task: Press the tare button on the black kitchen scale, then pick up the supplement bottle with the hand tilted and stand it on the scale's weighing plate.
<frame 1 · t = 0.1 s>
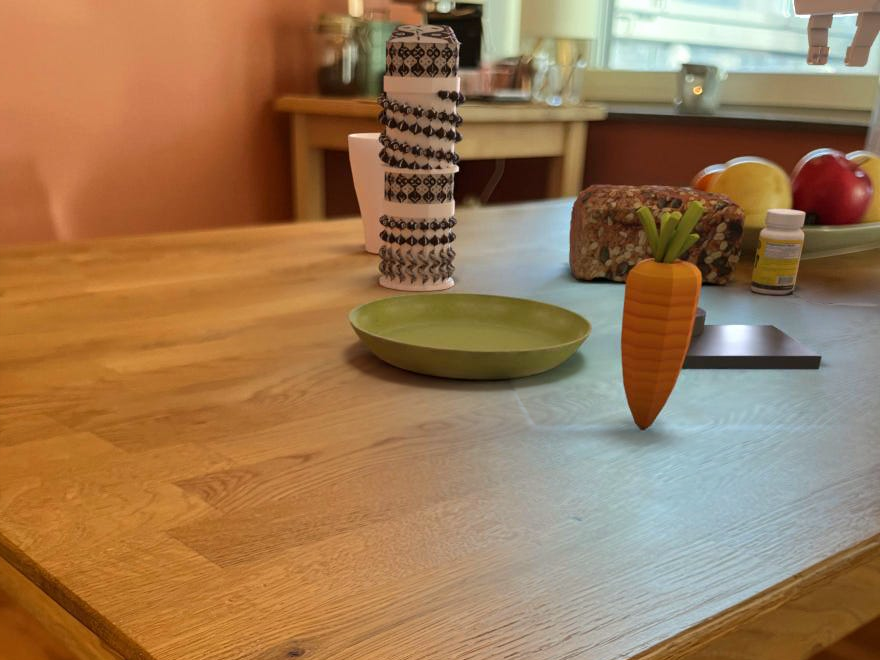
hand: (834, 66, 108), 22 cm above the table, tool pointing down, fingers open, 8 cm apart
saucer: (467, 357, 88), on the table
bread: (647, 278, 121), on the table
cup: (388, 252, 133), on the table
tare button: (672, 303, 92), point 3 cm above the table, slide at 0.1 cm
decorative candle: (416, 285, 115), on the table
scale: (722, 353, 91), on the table
carrot: (642, 432, 72), on the table
supplement bottle: (770, 293, 115), on the table
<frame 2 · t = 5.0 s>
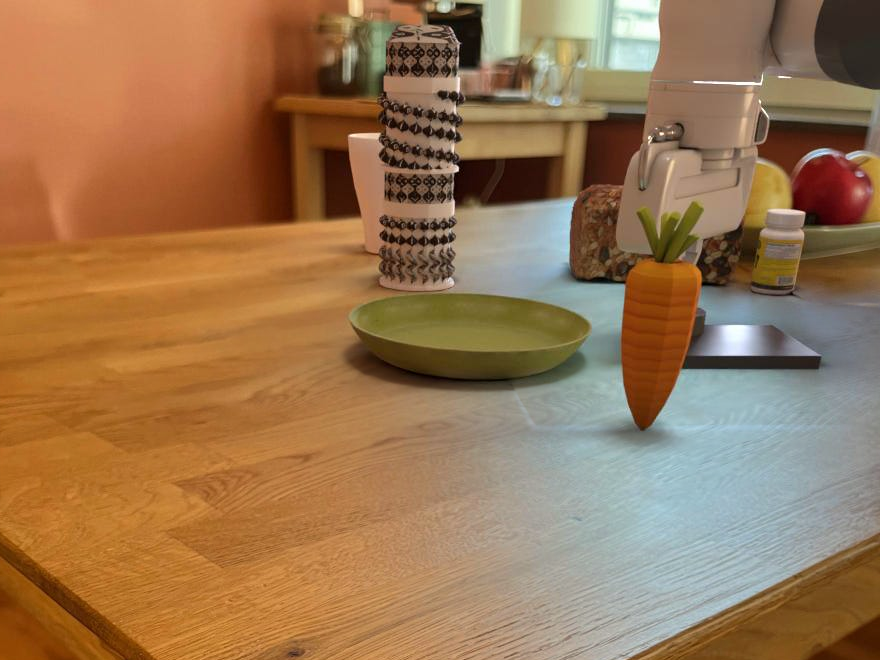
hand: (672, 294, 91), 4 cm above the table, tool pointing down, fingers closed, pressing on tare button
tare button: (672, 305, 92), point 3 cm above the table, slide at 0.0 cm, touching gripper
everything else where it was.
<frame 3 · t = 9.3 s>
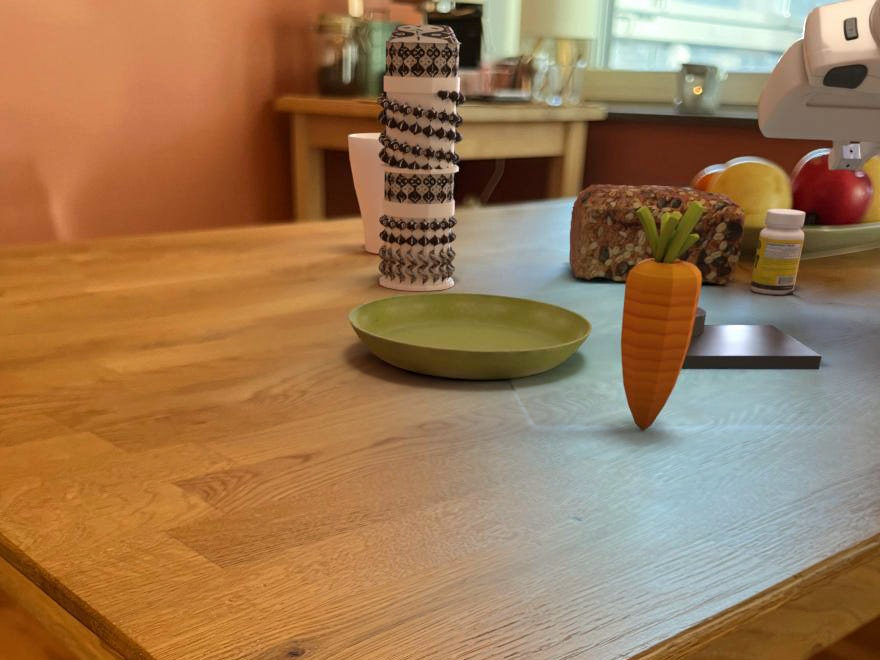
hand: (843, 164, 97), 14 cm above the table, tool tilted 45°, fingers closed
tare button: (672, 303, 92), point 3 cm above the table, slide at 0.1 cm
everything else where it was.
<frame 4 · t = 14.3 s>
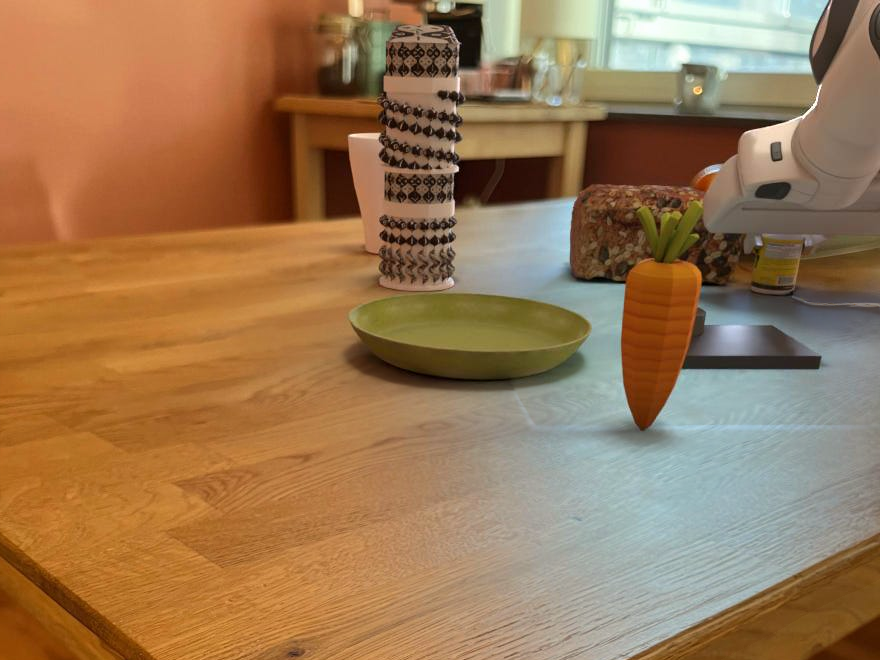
hand: (777, 249, 113), 4 cm above the table, tool tilted 45°, fingers closed on supplement bottle, 5 cm apart
supplement bottle: (770, 293, 115), on the table, touching gripper
everything else where it was.
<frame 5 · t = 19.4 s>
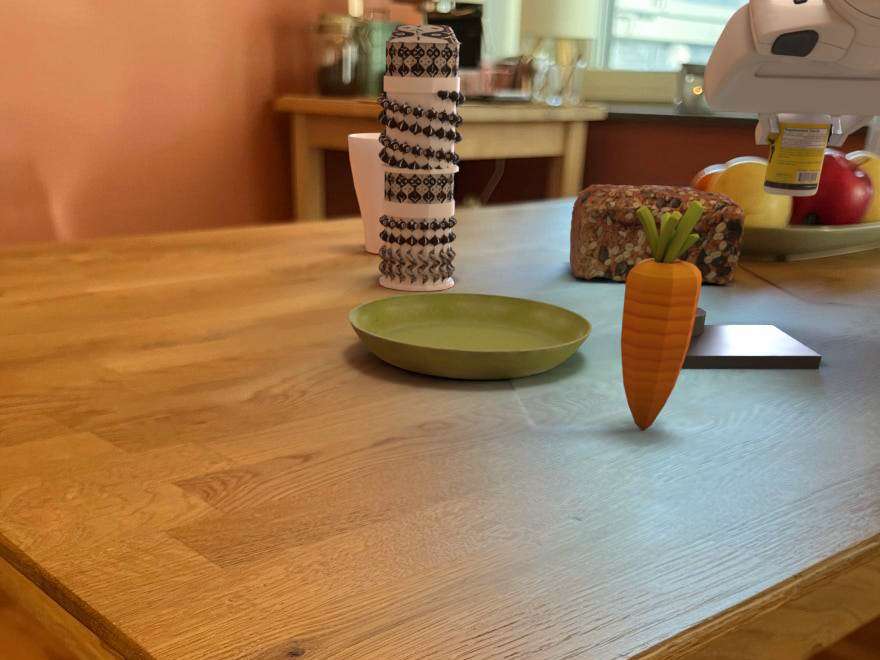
hand: (796, 139, 91), 17 cm above the table, tool tilted 45°, fingers closed on supplement bottle, 5 cm apart
supplement bottle: (788, 196, 93), point 12 cm above the table, touching gripper
everything else where it was.
when the fingers open (5 cm above the table, at t = 24.6 s): supplement bottle stays where it is, resting on scale.
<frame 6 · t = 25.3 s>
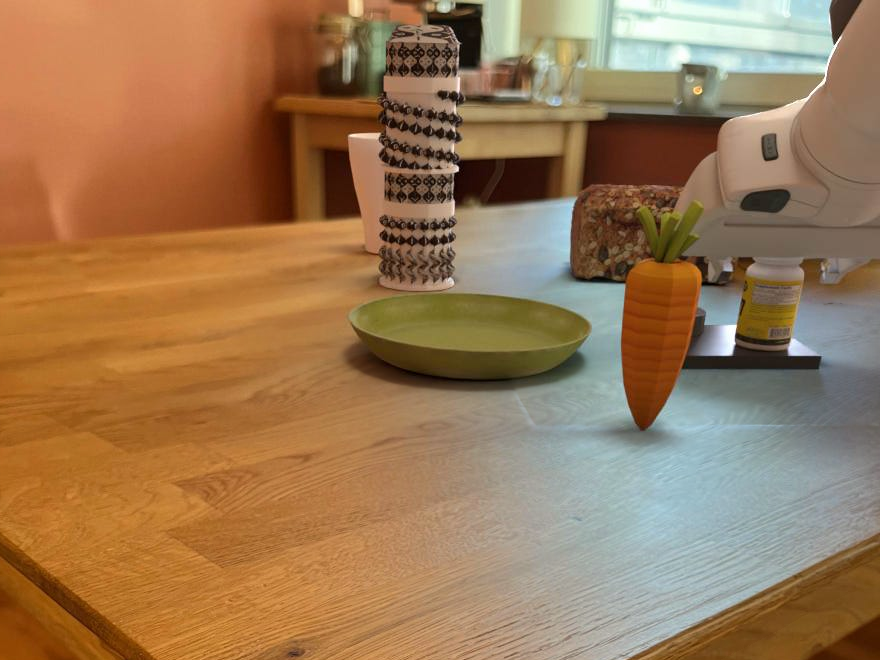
hand: (772, 275, 86), 7 cm above the table, tool tilted 45°, fingers open, 8 cm apart
supplement bottle: (760, 347, 88), point 1 cm above the table, touching scale
everything else where it was.
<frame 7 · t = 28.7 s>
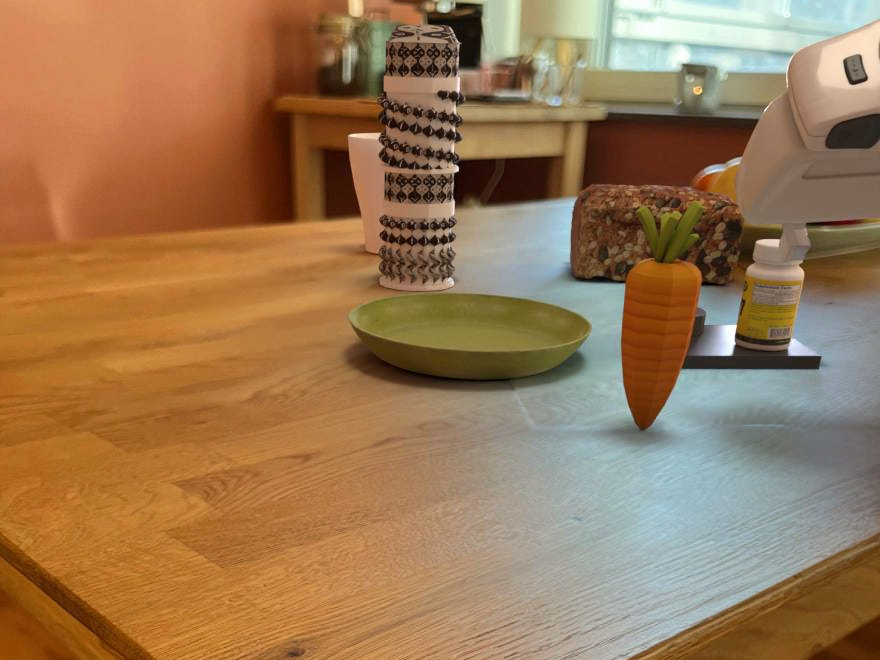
hand: (855, 250, 73), 11 cm above the table, tool tilted 40°, fingers open, 8 cm apart
nothing on the table moved.
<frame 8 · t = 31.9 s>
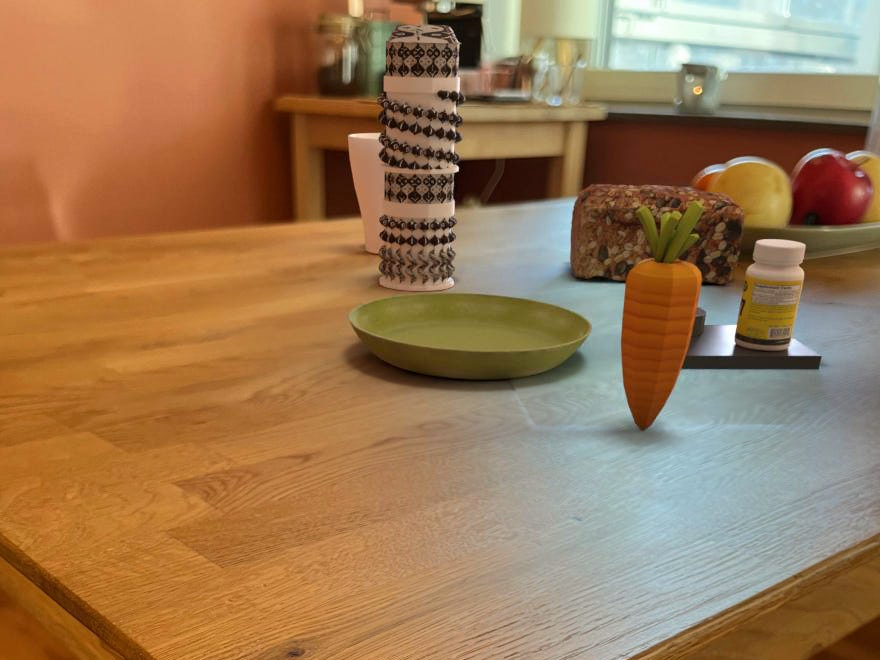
nothing on the table moved.
at the end: tare button pushed in 1.0 cm at the most during the clip, back to where it started at the end; supplement bottle inside the target area on the scale (3.3 cm from its centre), point 1.0 cm above the scale's base; supplement bottle touching scale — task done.
